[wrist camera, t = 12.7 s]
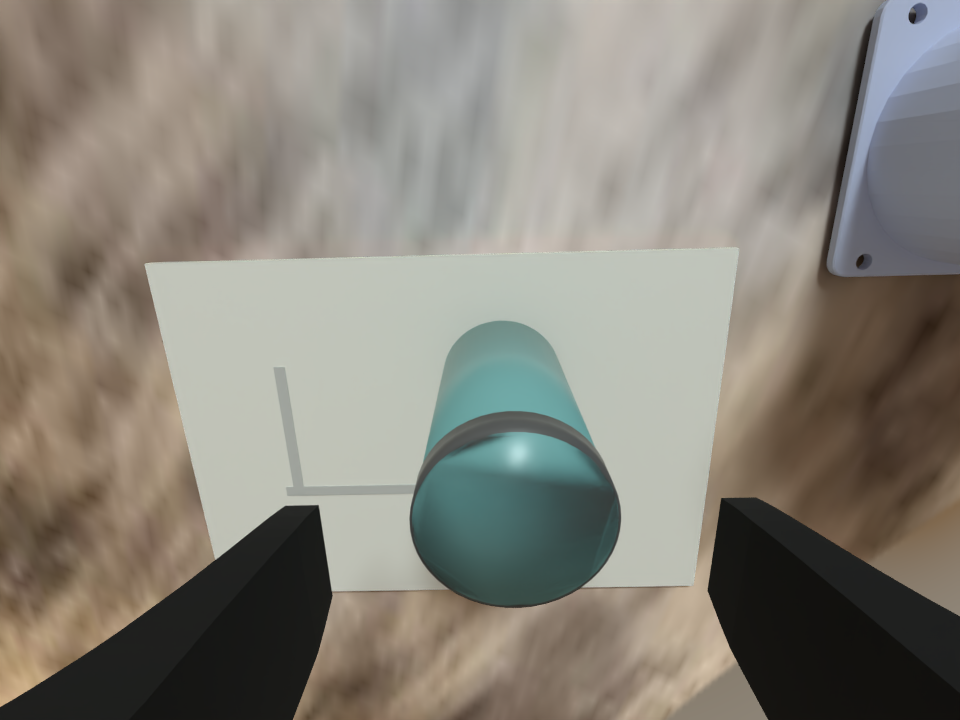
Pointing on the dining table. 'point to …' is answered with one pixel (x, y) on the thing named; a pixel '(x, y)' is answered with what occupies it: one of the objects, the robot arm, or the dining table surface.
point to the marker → (511, 476)
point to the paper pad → (415, 385)
